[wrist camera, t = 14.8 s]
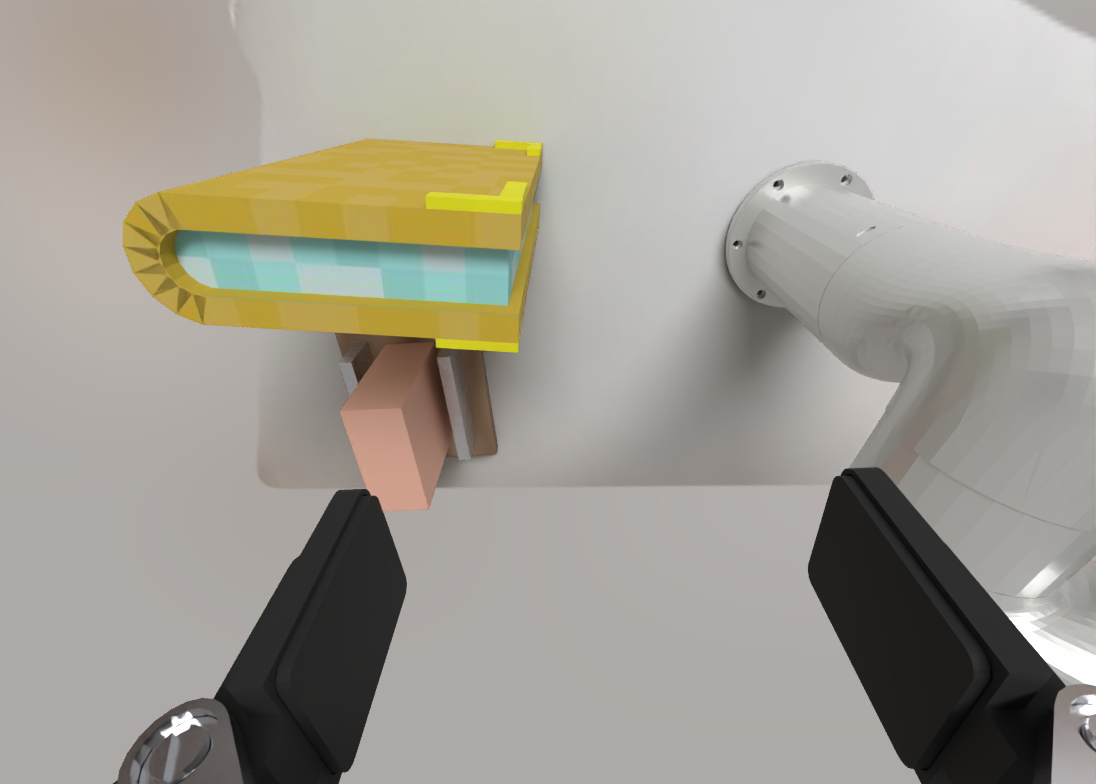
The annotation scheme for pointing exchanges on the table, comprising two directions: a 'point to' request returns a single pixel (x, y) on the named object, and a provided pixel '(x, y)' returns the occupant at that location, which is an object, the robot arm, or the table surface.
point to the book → (352, 243)
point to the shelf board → (475, 382)
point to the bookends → (453, 387)
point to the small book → (400, 426)
